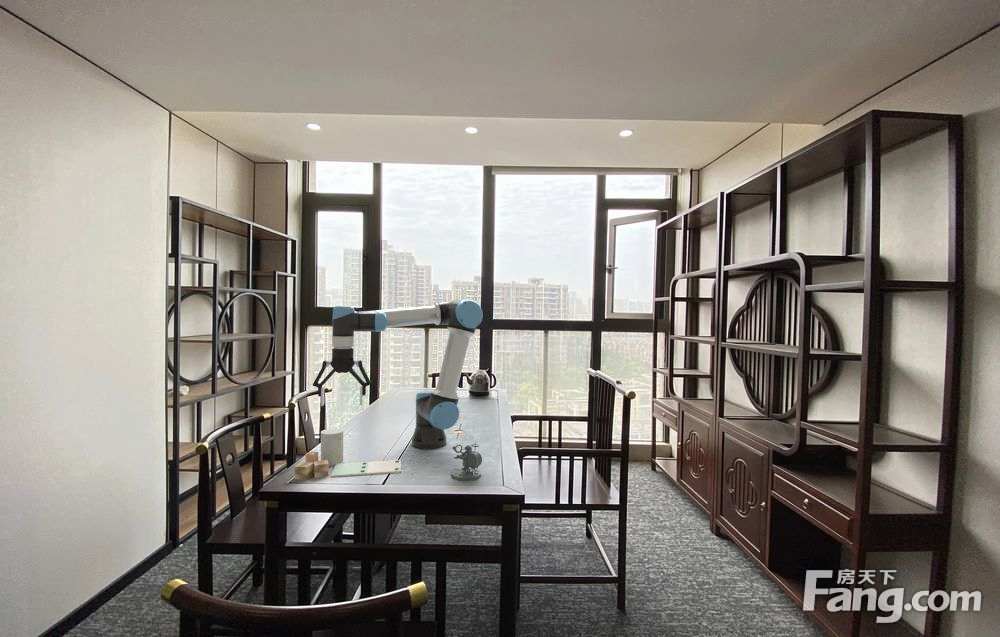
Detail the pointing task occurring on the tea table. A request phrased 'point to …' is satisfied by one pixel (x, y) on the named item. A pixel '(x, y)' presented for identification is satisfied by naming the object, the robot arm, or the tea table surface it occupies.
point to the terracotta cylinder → (311, 457)
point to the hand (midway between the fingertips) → (342, 404)
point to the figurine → (467, 464)
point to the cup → (332, 446)
